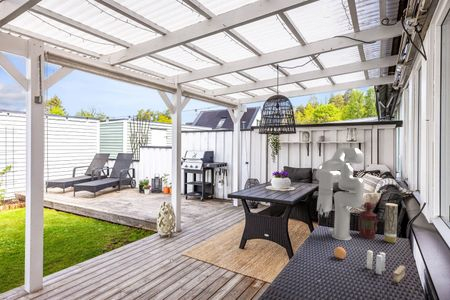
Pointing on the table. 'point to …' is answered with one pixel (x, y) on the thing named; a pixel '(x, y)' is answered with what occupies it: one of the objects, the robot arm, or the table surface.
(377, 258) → the back pin right
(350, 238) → the robot arm
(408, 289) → the table surface
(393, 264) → the table surface
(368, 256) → the front pin
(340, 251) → the ball
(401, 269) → the back wall
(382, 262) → the back pin left
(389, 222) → the paper tube
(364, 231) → the lantern
